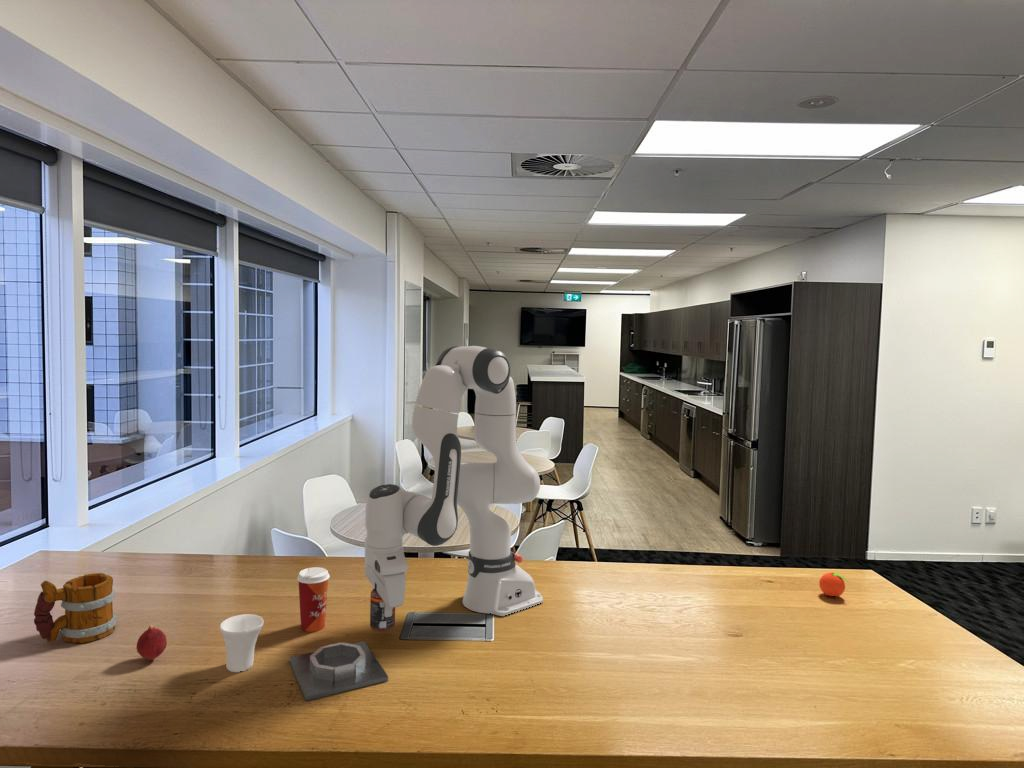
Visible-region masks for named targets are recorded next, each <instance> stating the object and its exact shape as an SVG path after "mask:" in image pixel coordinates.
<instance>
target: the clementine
mask: <svg viewBox="0 0 1024 768" xmlns="http://www.w3.org/2000/svg"><path fill="white" fill-rule="evenodd" d="M818 582H819V589H820V590H821V592H822V593H823V594H824V595H826V596H827V595H829V596H828V597H830V596H836V597H835V598H838V597H840V596H841V595H842V594H844V592H845V590H846V583H845V582H847V583H848V585H850V583H849V581H848V580H847V578H845V577H844V576H842V575H841V574H839V573H835V572H827V573H823V575H822V576H821V577H820V579H819V581H818ZM837 596H838V597H837Z"/></svg>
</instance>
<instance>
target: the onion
mask: <svg viewBox="0 0 1024 768" xmlns="http://www.w3.org/2000/svg"><path fill="white" fill-rule="evenodd" d="M167 642H168V641H167V635H166V634H165V632H163V630H161V629H159V628H156V627H155V626H154V625H153V624H149V626H148V628H147V629H146V630H144V631H143V633H141V635H140V636H139V637H138V639H137V642H136V646H135V647H136V648H135V649H136V652H137V653H138V654H139V655H140V657H142V658H143V659H146V660H148V661H153V660H155V659H157V658H158V657H159V656H161V654H163V652H164V651H165V650H166V648H167V645H168V643H167Z"/></svg>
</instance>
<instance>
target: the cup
mask: <svg viewBox="0 0 1024 768" xmlns="http://www.w3.org/2000/svg"><path fill="white" fill-rule="evenodd" d="M264 622H265V621H264V619H263V617H262V616H260V615H257V614H254V613H253V614H251V613H243V614H242V613H241V614H238V615H234V616H231V617H228V618H225V620H223V621H222V622H221V623H220V625H219V631H220V633H221V635H222V636H223V639H224V640H223V641H224V645H225V653H226V664H225V665H226V666H225V667H226V670H228V671H229V672H231V673H241V672H240V671H243V672H245V671H247V669H248V670H249V669H251V668H252V666H253V665H254V662H255V660H254V657H255V648H256V643H257V640H258V637H259V634H260V632H261V630H262V629H263V627H264ZM250 667H251V668H250Z"/></svg>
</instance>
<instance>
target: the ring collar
mask: <svg viewBox="0 0 1024 768" xmlns="http://www.w3.org/2000/svg"><path fill="white" fill-rule="evenodd" d="M288 658H289V660H288V662H289V664H290V667H291V669H292V671H293V673H294V675H295V678H296V680H297V682H298V684H299V689H300V690H301V692H302V695H303V696H304V699H305V701H306V702H308V701H313V700H317V699H320V698H321V699H322V698H324V697H328V696H333V695H337V694H341V693H345V692H348V691H353V690H358V689H361V688H364V687H369V686H373V685H376V684H381V683H385V682H388V681H389V676H388V674H387V672H386V671H385V669H384V668H383V667H382V665H381V664H380V662H379V661H378V659H377V657H376V656H375V655H374V653H373V652H372V650H371V648H370V647H369V645H368V644H367V643H366V641H358V642H354V643H348V642H338V643H336V642H335V643H331V644H327V645H322V646H319V648H317V649H316V650H315V651H312V652H308V653H303V654H299V655H294V656H290V657H288Z"/></svg>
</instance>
